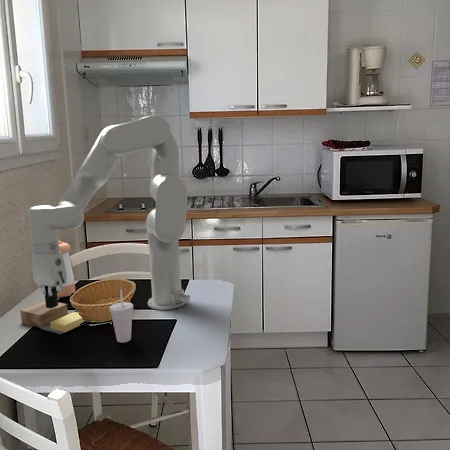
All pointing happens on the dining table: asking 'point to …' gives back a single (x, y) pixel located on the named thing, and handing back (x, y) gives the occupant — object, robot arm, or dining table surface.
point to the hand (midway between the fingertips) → (52, 306)
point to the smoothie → (122, 319)
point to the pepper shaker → (69, 285)
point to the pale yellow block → (67, 322)
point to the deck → (42, 314)
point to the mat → (48, 328)
